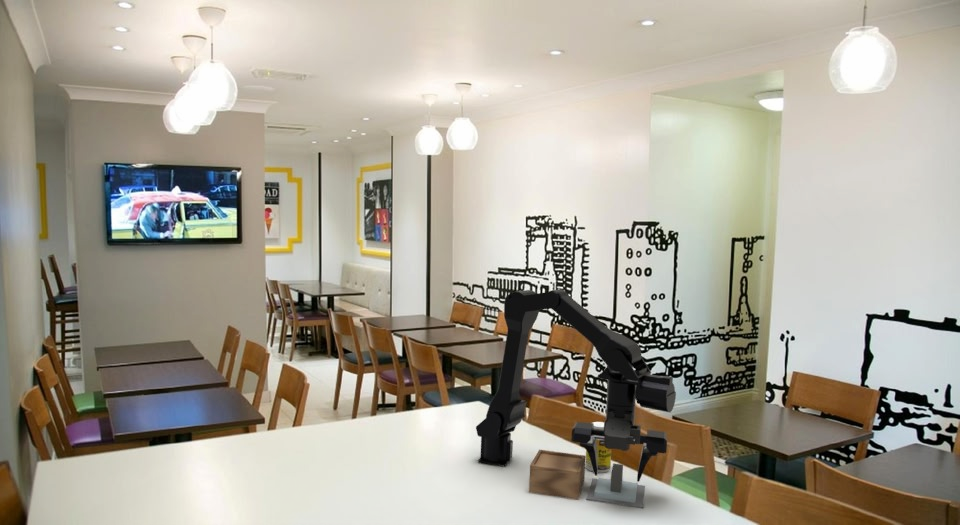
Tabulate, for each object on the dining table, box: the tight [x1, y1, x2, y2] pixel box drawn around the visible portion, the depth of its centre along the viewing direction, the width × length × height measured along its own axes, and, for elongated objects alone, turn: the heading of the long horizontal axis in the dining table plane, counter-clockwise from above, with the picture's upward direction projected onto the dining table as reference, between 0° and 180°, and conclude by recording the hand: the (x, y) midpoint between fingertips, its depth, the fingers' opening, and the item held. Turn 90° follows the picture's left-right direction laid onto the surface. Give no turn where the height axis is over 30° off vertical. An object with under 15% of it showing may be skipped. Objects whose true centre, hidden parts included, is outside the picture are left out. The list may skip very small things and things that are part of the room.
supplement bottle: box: [585, 421, 612, 474], centre depth 147 cm, size 6×6×10 cm
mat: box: [585, 478, 646, 509], centre depth 134 cm, size 11×11×1 cm
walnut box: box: [528, 449, 586, 500], centre depth 136 cm, size 10×10×6 cm
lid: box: [594, 463, 638, 503], centre depth 134 cm, size 8×8×5 cm
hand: (616, 478), depth 134 cm, fingers open, 8 cm apart
